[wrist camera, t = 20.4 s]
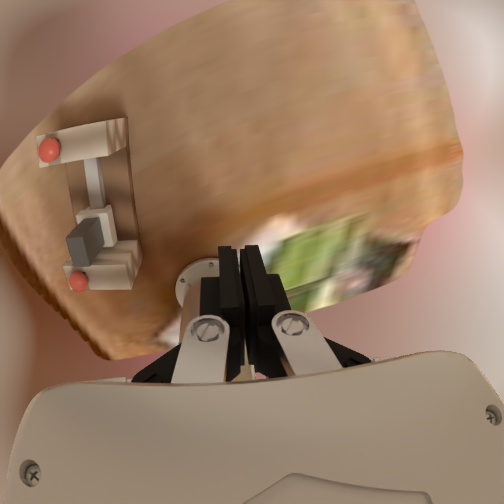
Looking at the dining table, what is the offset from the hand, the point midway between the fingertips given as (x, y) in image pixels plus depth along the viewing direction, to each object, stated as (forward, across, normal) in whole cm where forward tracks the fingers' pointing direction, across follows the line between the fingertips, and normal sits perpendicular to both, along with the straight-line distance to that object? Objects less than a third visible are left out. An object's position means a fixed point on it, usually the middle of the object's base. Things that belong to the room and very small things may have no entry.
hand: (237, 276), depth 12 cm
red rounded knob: (+22, +20, -4) cm, 31 cm away
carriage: (+27, +18, +8) cm, 33 cm away
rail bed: (+29, +18, +4) cm, 35 cm away
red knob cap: (+22, +20, +14) cm, 33 cm away
